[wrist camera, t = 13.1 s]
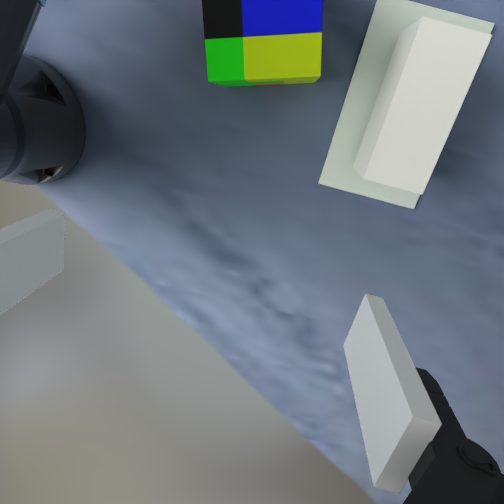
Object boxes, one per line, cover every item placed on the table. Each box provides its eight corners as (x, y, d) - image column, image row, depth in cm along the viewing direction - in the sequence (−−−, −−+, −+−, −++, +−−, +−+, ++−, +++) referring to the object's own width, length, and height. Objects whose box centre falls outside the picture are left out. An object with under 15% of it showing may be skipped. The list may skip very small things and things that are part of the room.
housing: (402, 181, 42) (422, 194, 36) (352, 167, 42) (363, 178, 36) (457, 47, 37) (492, 34, 31) (400, 31, 37) (422, 16, 31)
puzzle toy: (317, -25, 37) (324, -68, 28) (314, 82, 41) (320, 76, 32) (220, -18, 39) (197, -56, 29) (226, 86, 42) (207, 81, 33)
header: (318, 182, 45) (322, 195, 39) (378, -7, 37) (395, -29, 31) (412, 208, 45) (431, 224, 39) (492, 24, 37) (531, 8, 31)
